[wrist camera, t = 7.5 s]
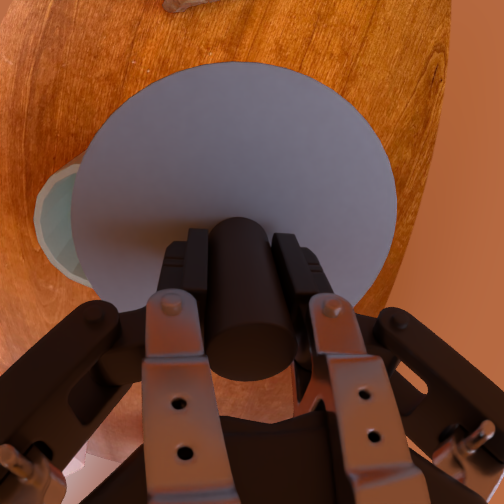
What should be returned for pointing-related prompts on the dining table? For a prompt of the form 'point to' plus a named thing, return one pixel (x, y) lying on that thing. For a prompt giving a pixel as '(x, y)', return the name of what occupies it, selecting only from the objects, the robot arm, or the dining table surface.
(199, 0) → the stone tool
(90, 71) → the dining table surface
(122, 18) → the dining table surface
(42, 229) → the processor bowl
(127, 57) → the dining table surface
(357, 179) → the lid
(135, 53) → the dining table surface
